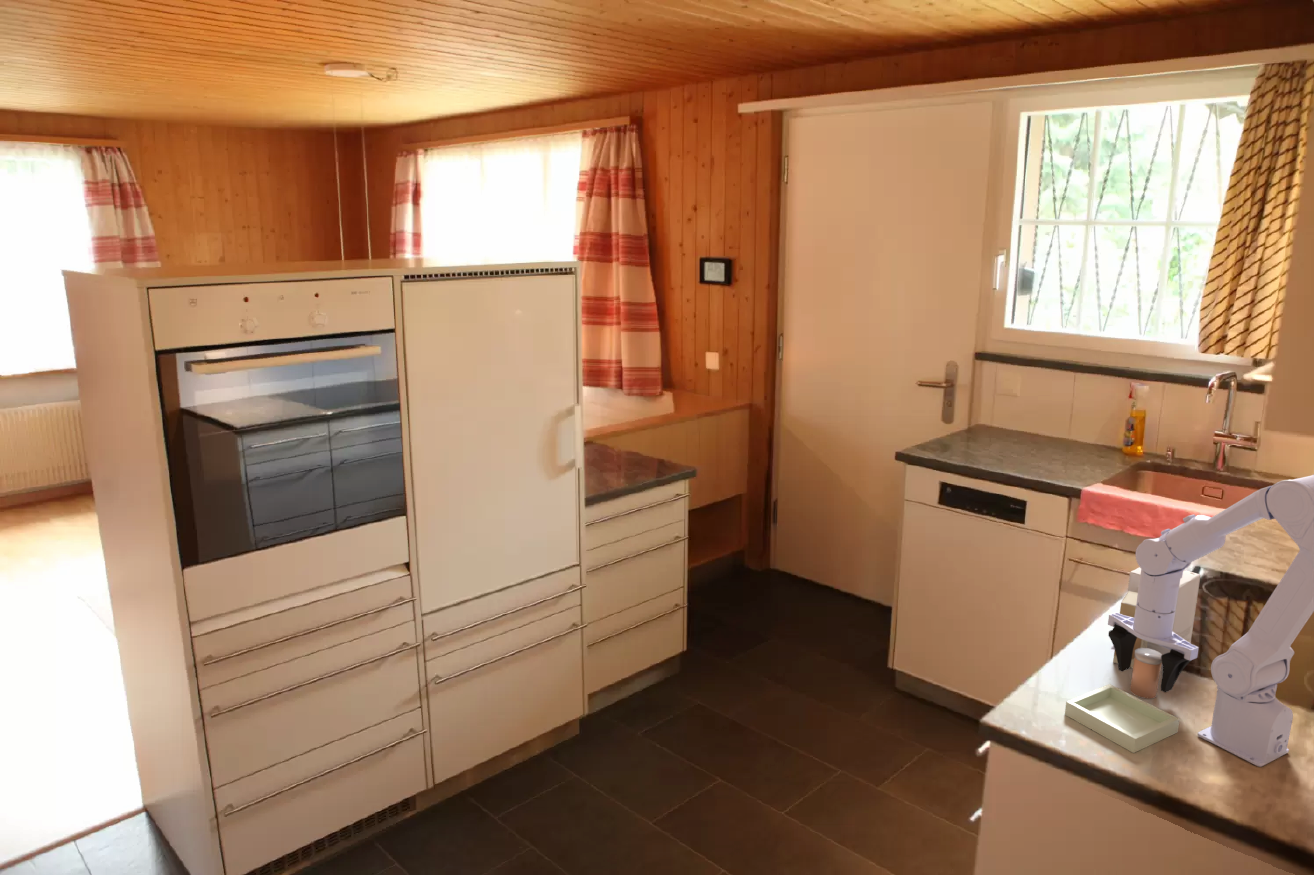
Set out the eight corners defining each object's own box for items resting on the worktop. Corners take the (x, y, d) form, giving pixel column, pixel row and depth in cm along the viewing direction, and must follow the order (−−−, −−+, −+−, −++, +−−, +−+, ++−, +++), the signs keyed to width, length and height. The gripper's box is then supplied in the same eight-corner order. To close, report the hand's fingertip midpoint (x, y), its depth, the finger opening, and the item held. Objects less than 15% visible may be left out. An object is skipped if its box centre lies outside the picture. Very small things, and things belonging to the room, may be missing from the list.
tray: (1177, 732, 140) (1179, 718, 139) (1133, 752, 135) (1135, 739, 134) (1107, 696, 150) (1109, 683, 150) (1064, 714, 145) (1066, 701, 144)
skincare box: (1120, 649, 166) (1128, 589, 163) (1146, 657, 163) (1155, 595, 160) (1111, 663, 161) (1120, 601, 158) (1138, 671, 158) (1147, 608, 155)
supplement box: (1142, 630, 173) (1152, 558, 169) (1190, 648, 166) (1202, 574, 162) (1118, 644, 168) (1128, 570, 164) (1167, 663, 161) (1179, 586, 157)
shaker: (1162, 694, 151) (1168, 656, 149) (1147, 701, 149) (1153, 662, 147) (1139, 683, 154) (1144, 645, 152) (1123, 689, 152) (1129, 651, 150)
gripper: (1214, 618, 143) (1201, 693, 147) (1130, 585, 155) (1120, 655, 159) (1187, 628, 140) (1175, 704, 143) (1104, 593, 152) (1094, 665, 156)
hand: (1144, 679), depth 151 cm, fingers open, 7 cm apart
